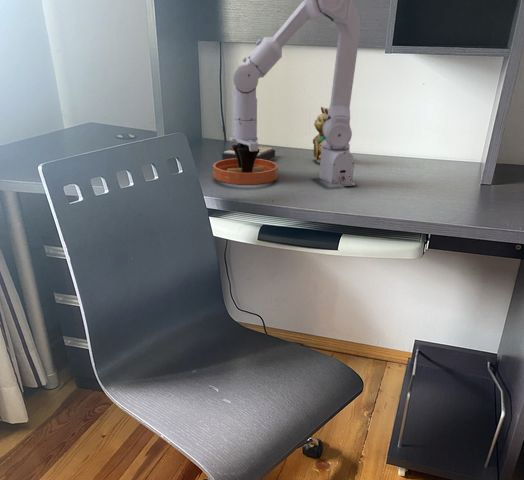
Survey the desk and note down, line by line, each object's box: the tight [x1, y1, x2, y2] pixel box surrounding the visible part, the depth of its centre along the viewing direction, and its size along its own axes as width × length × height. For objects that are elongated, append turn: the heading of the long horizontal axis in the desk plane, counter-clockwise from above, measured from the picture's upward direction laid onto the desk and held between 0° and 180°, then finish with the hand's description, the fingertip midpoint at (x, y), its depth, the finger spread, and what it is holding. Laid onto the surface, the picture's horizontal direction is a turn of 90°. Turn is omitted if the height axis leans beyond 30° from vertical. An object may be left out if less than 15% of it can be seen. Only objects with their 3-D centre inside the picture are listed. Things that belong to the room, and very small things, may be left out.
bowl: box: [212, 158, 279, 186], centre depth 141 cm, size 17×17×4 cm
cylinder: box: [227, 166, 264, 173], centre depth 141 cm, size 10×2×2 cm, turn 109°
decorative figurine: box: [312, 106, 329, 164], centre depth 158 cm, size 10×8×15 cm
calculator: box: [221, 146, 276, 161], centre depth 158 cm, size 11×4×15 cm
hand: (245, 174), depth 141 cm, fingers closed on cylinder, 2 cm apart
